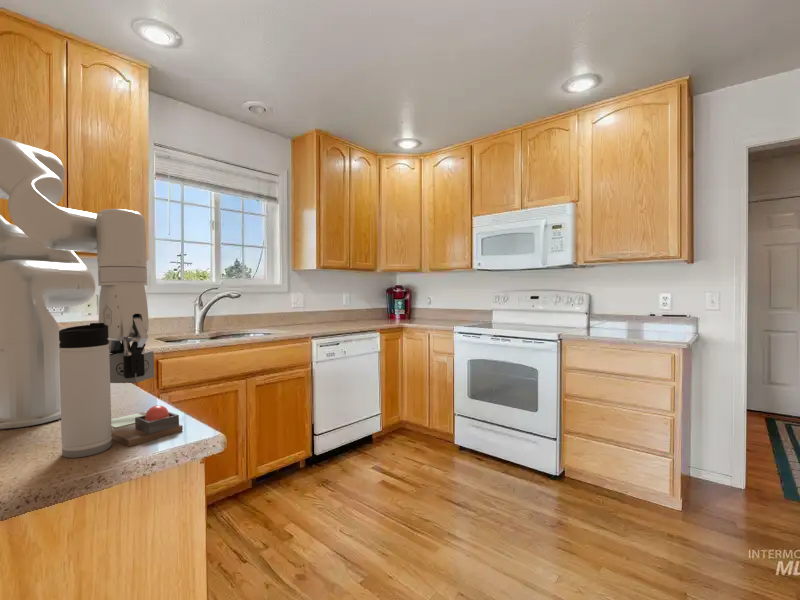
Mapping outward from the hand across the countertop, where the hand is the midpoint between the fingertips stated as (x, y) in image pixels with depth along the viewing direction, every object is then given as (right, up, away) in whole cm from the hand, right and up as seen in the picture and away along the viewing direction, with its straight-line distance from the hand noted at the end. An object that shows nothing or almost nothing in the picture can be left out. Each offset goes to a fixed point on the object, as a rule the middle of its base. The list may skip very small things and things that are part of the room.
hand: (126, 374), depth 76 cm
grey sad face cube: (+1, -1, +1) cm, 2 cm away
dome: (+8, -9, -4) cm, 12 cm away
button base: (+3, -10, -2) cm, 10 cm away
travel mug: (+1, -10, -11) cm, 15 cm away
